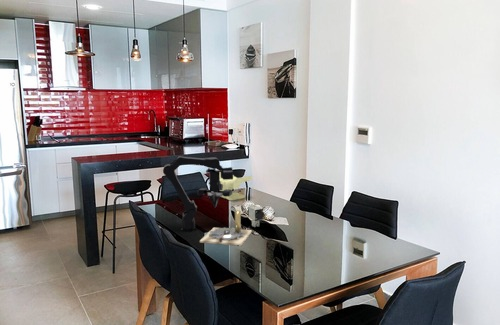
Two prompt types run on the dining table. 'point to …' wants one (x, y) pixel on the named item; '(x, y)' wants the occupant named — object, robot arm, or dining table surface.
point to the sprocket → (229, 230)
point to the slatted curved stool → (233, 186)
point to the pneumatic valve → (255, 215)
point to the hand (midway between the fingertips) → (215, 207)
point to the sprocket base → (219, 241)
